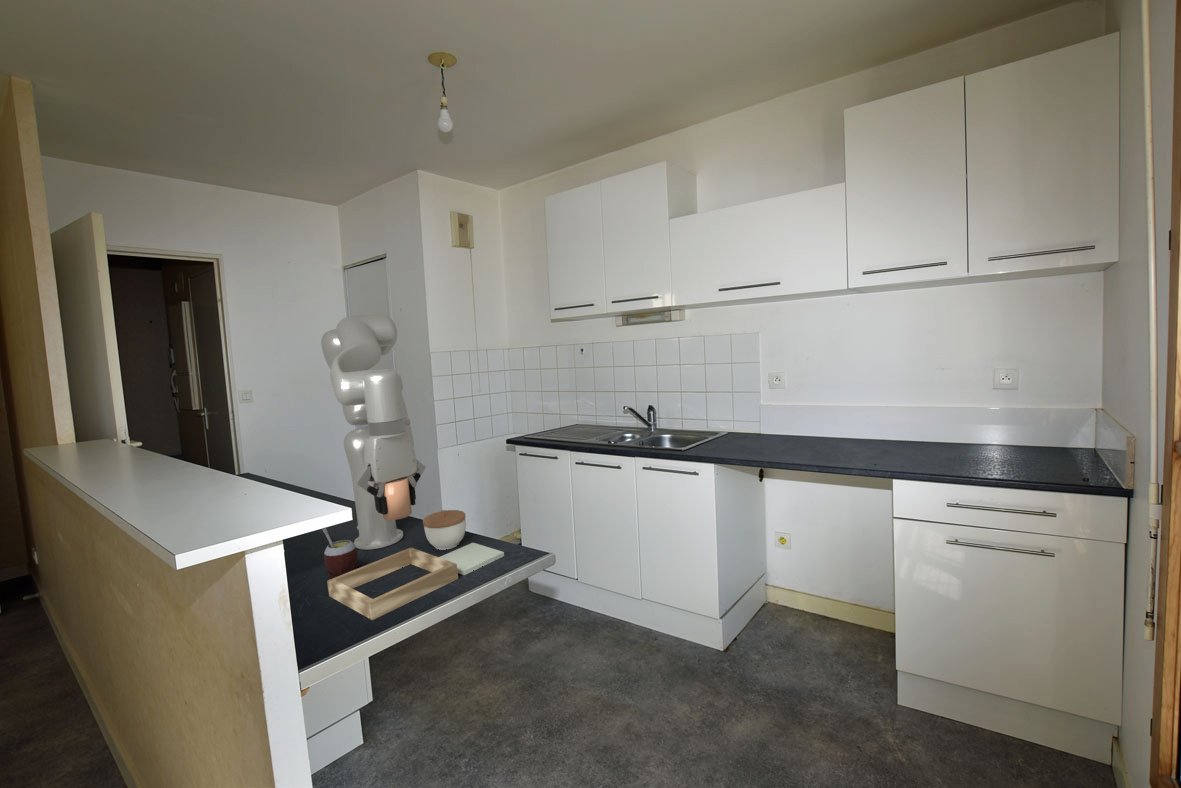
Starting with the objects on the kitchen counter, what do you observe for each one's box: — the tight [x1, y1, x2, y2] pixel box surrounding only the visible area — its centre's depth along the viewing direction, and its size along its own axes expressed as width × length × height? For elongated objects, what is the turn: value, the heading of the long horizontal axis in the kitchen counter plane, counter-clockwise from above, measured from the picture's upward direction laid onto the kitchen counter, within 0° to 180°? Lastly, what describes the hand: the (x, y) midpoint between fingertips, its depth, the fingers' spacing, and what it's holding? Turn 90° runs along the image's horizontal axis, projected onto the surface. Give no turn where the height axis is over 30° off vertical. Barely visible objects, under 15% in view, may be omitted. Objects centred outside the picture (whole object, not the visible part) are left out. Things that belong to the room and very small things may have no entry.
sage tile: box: [438, 542, 505, 576], centre depth 130 cm, size 12×12×1 cm
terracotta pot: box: [383, 477, 413, 521], centre depth 118 cm, size 6×6×8 cm
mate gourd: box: [322, 527, 359, 580], centre depth 125 cm, size 8×8×15 cm
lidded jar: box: [422, 509, 467, 551], centre depth 140 cm, size 11×11×9 cm
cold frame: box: [326, 547, 459, 621], centre depth 118 cm, size 18×20×4 cm
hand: (396, 507), depth 118 cm, fingers closed on terracotta pot, 6 cm apart
